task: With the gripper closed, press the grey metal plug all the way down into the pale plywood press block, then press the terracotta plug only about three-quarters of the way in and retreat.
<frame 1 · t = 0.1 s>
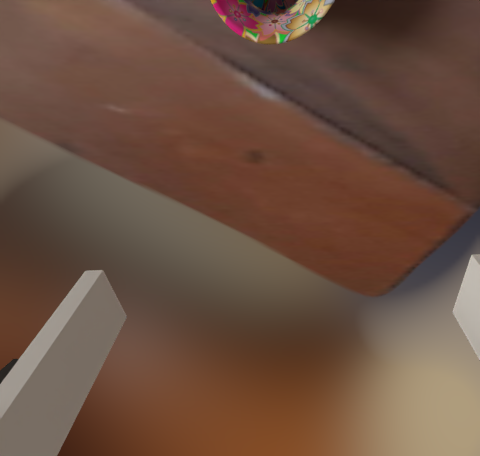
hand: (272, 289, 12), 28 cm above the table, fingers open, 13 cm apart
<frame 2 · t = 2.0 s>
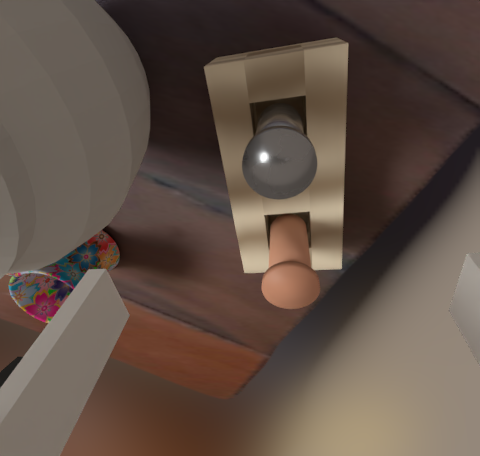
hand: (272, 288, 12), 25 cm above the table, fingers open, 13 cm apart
terracotta plug: (289, 255, 30), point 10 cm above the table, slide at 0.0 cm
mug: (84, 240, 45), on the table
vase: (98, 77, 32), on the table
press block: (283, 160, 35), on the table
grey plug: (279, 143, 24), point 10 cm above the table, slide at 0.0 cm
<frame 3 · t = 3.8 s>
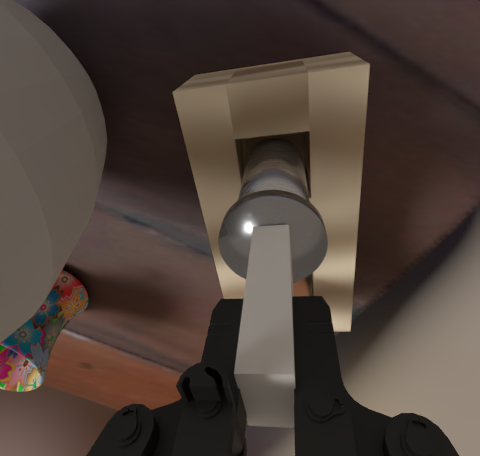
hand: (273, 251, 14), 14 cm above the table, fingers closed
terracotta plug: (286, 328, 23), point 10 cm above the table, slide at 0.0 cm
mug: (47, 280, 39), on the table
vase: (48, 96, 26), on the table
press block: (280, 198, 29), on the table
grey plug: (273, 197, 18), point 10 cm above the table, slide at 0.2 cm, touching gripper
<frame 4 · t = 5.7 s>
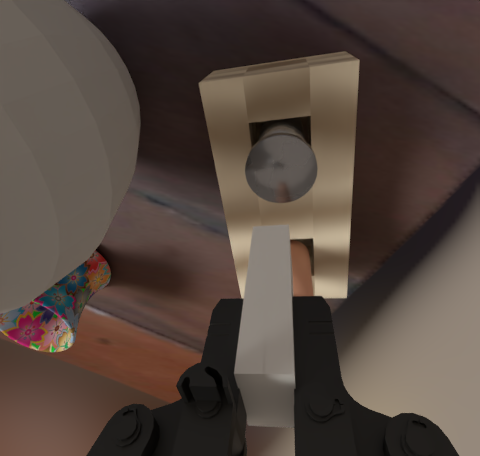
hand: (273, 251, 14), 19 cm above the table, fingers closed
terracotta plug: (290, 287, 27), point 10 cm above the table, slide at 0.0 cm
mug: (74, 257, 43), on the table
vase: (86, 89, 30), on the table
press block: (285, 180, 32), on the table
grey plug: (281, 148, 25), point 6 cm above the table, slide at 4.0 cm
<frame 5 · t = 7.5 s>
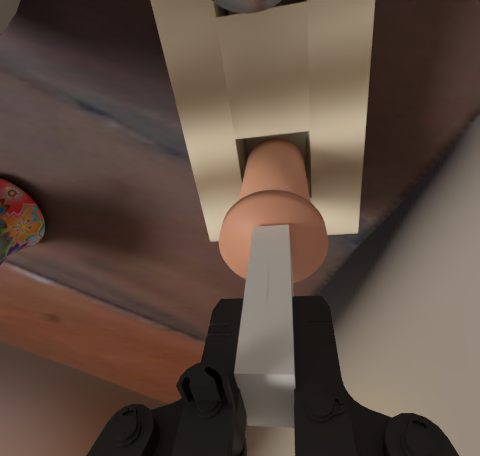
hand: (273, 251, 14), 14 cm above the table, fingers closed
terracotta plug: (274, 197, 18), point 10 cm above the table, slide at 0.1 cm, touching gripper
press block: (269, 63, 22), on the table
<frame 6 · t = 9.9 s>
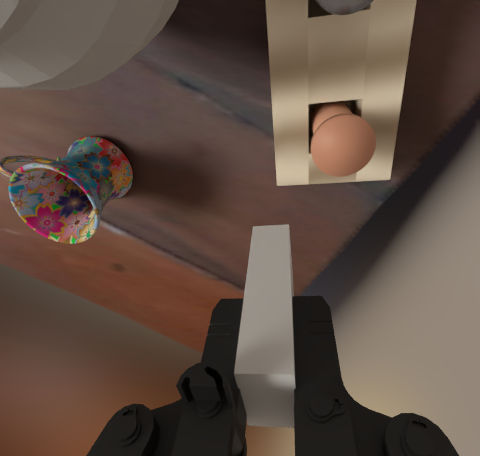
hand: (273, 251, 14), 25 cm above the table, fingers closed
terracotta plug: (335, 131, 28), point 7 cm above the table, slide at 2.9 cm
mug: (94, 160, 41), on the table
press block: (328, 53, 31), on the table
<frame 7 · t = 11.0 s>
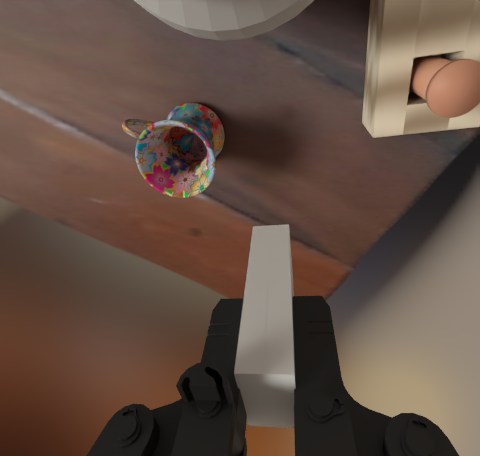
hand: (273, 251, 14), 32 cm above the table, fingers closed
terracotta plug: (438, 81, 32), point 7 cm above the table, slide at 2.9 cm
mug: (187, 127, 44), on the table
press block: (422, 14, 34), on the table
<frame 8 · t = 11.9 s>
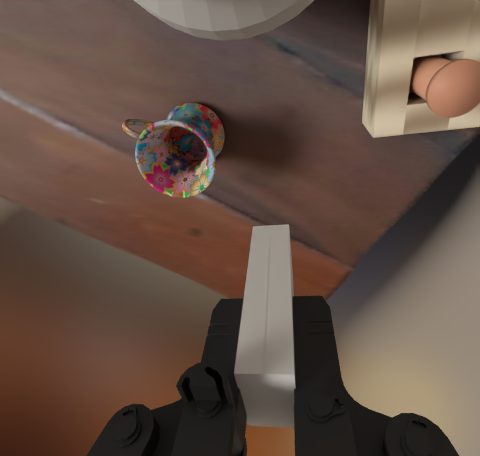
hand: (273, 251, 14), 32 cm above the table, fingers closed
terracotta plug: (438, 81, 32), point 7 cm above the table, slide at 2.9 cm
mug: (187, 127, 44), on the table
press block: (422, 14, 34), on the table
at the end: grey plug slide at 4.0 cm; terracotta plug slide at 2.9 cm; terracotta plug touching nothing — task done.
